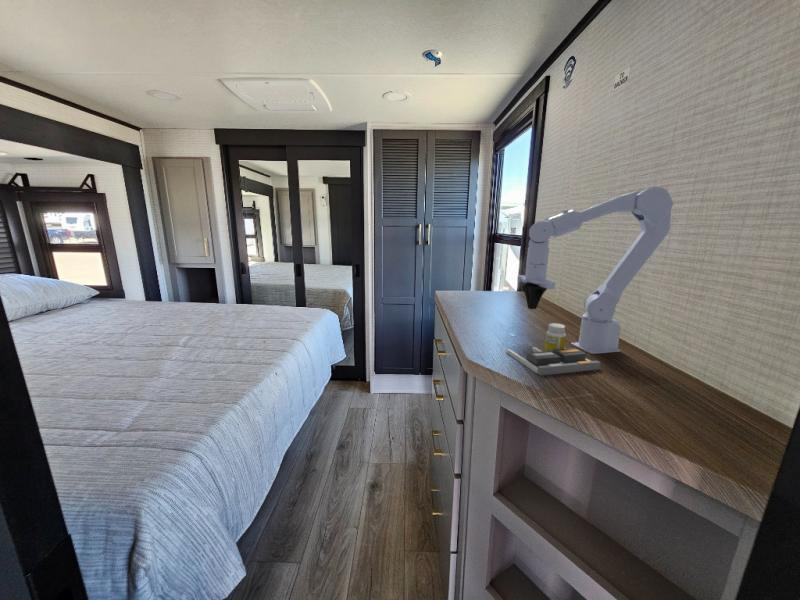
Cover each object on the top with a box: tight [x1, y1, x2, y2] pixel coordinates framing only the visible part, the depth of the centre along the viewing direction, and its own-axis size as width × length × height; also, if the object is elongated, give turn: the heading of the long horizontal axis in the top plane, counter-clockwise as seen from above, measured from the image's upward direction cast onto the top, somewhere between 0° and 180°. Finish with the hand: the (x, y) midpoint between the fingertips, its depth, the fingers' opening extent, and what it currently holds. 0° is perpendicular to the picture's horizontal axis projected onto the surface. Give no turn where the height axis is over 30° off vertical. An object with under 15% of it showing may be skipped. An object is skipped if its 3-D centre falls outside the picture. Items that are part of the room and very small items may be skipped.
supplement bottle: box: [543, 322, 567, 352], centre depth 82 cm, size 5×5×8 cm
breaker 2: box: [553, 347, 587, 364], centre depth 78 cm, size 6×4×3 cm, turn 102°
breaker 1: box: [526, 350, 561, 367], centre depth 76 cm, size 6×4×3 cm, turn 102°
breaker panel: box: [506, 346, 601, 376], centre depth 79 cm, size 16×14×2 cm
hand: (532, 308), depth 93 cm, fingers closed
